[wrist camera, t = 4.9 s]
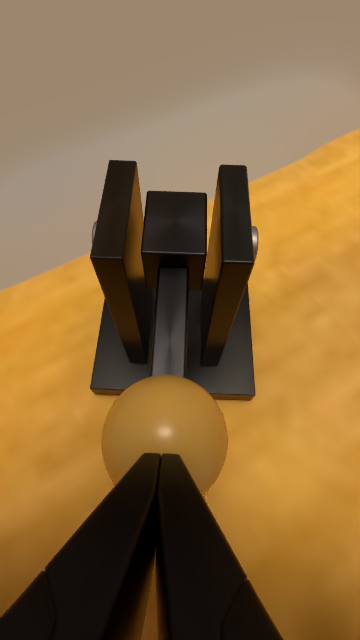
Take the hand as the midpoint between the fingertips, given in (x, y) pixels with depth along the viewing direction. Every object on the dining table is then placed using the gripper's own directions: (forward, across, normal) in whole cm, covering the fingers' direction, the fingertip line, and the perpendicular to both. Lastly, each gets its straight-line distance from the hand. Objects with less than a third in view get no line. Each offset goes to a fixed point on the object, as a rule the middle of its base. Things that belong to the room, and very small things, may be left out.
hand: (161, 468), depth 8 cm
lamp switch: (+5, 0, -1) cm, 5 cm away
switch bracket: (+13, 0, +1) cm, 13 cm away
